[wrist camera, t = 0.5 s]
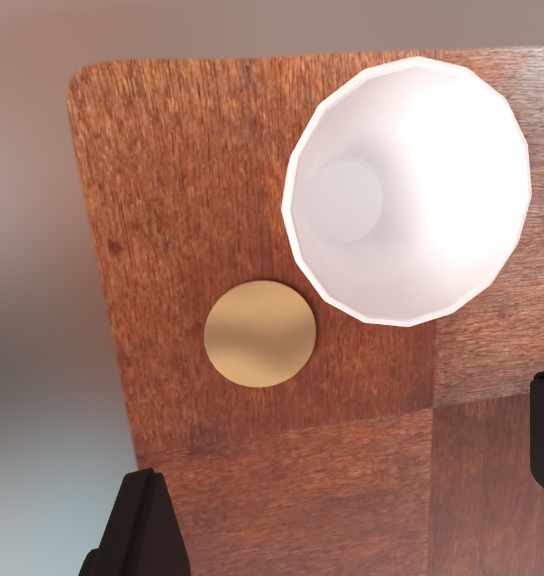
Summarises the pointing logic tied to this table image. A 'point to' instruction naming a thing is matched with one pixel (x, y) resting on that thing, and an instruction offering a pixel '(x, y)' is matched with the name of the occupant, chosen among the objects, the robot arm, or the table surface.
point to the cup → (407, 191)
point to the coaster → (260, 333)
